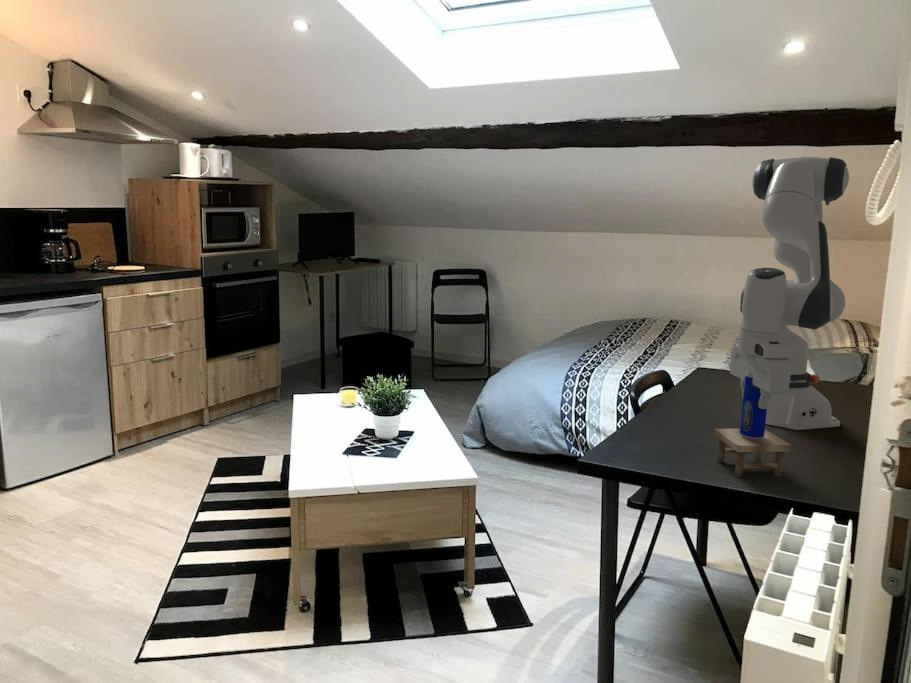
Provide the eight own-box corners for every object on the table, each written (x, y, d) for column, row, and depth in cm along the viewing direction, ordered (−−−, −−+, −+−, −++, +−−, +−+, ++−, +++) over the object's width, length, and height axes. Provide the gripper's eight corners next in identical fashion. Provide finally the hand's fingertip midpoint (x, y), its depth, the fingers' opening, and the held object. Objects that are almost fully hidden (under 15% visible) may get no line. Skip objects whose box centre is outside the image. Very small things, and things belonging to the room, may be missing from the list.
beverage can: (735, 433, 168) (741, 369, 166) (757, 432, 169) (763, 368, 166) (746, 440, 163) (752, 374, 161) (768, 440, 164) (775, 374, 161)
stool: (760, 458, 174) (763, 428, 173) (787, 477, 162) (791, 444, 161) (711, 459, 173) (714, 428, 171) (735, 478, 161) (738, 445, 160)
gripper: (725, 334, 172) (720, 391, 175) (769, 352, 152) (763, 416, 155) (751, 334, 173) (745, 391, 175) (799, 352, 153) (792, 416, 155)
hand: (754, 403), depth 165 cm, fingers open, 5 cm apart
